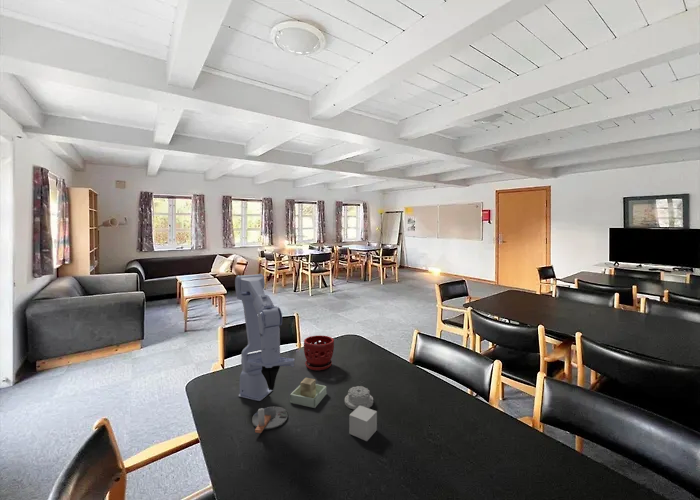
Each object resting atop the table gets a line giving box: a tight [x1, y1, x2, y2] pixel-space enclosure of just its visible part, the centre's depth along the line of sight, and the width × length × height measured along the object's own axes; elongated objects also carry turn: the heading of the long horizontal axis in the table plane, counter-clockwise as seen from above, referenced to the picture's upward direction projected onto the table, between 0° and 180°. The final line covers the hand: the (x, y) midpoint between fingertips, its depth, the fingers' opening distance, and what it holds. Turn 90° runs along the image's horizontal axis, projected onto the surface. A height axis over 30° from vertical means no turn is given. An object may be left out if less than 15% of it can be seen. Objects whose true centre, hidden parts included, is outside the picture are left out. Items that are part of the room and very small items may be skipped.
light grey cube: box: [348, 406, 378, 442], centre depth 95 cm, size 6×6×6 cm
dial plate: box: [251, 406, 289, 431], centre depth 102 cm, size 11×11×1 cm
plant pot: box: [303, 335, 335, 371], centre depth 140 cm, size 13×13×12 cm
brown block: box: [299, 377, 317, 398], centre depth 113 cm, size 4×4×6 cm
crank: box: [254, 406, 276, 434], centre depth 98 cm, size 11×4×6 cm, turn 172°
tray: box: [289, 383, 328, 409], centre depth 114 cm, size 10×10×3 cm
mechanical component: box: [344, 385, 374, 411], centre depth 111 cm, size 10×4×10 cm
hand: (271, 388), depth 101 cm, fingers closed
